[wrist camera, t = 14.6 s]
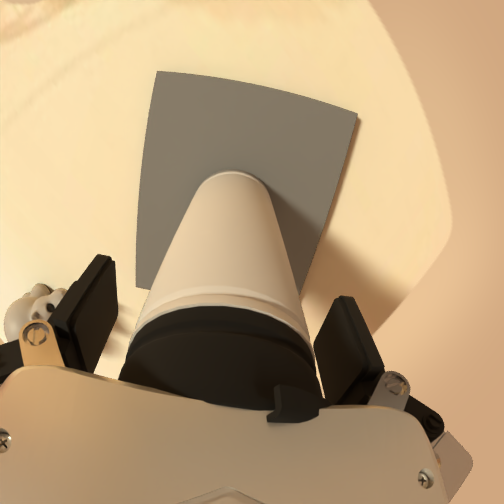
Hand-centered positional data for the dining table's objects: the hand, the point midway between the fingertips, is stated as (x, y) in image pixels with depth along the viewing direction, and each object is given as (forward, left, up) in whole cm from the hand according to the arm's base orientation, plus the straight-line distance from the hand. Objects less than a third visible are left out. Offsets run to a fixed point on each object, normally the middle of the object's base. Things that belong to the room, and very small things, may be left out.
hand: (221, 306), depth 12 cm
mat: (0, 0, -14) cm, 14 cm away
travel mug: (0, 0, -14) cm, 14 cm away
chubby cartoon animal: (+15, -19, -14) cm, 28 cm away
